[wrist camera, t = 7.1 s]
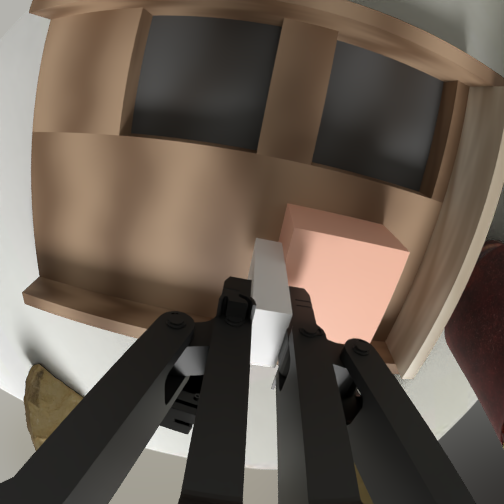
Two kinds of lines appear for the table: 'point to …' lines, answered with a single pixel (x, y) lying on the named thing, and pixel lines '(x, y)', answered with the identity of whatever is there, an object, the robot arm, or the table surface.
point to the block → (342, 269)
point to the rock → (46, 403)
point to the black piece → (184, 406)
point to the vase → (482, 332)
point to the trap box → (253, 154)
